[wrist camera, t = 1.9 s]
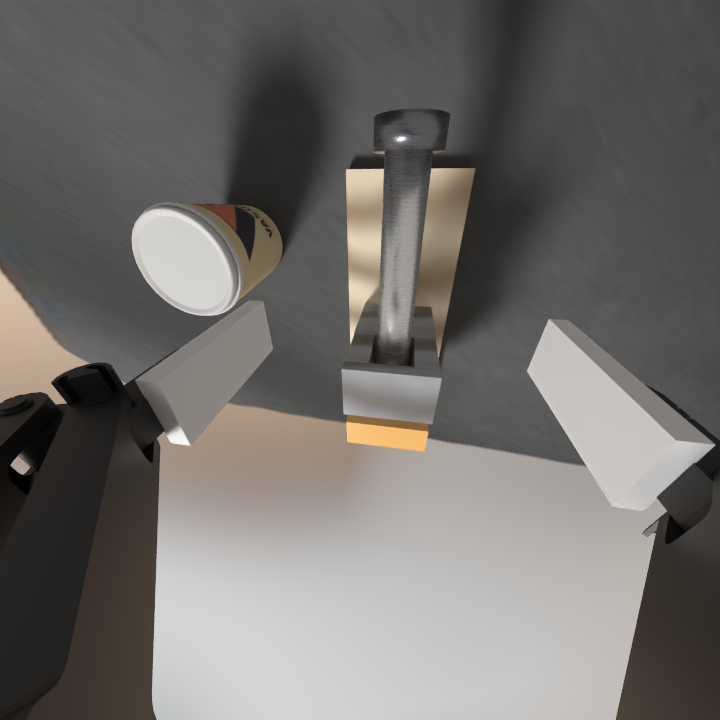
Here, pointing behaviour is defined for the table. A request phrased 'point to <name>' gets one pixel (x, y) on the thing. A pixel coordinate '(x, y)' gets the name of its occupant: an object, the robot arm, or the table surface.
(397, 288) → the shaft
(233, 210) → the coffee cup
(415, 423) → the frame
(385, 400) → the bearing fixture
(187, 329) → the table surface
